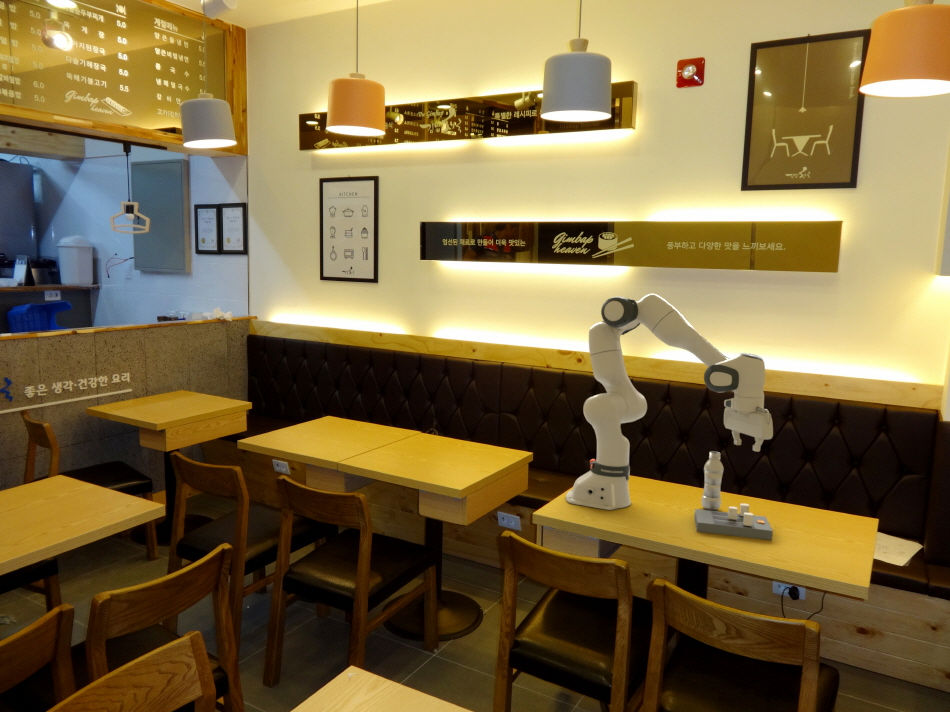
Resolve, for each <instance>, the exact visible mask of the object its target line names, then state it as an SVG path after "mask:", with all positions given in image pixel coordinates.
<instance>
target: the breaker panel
mask: <svg viewBox="0 0 950 712" xmlns="http://www.w3.org/2000/svg"><path fill="white" fill-rule="evenodd" d="M743 519H744V516H740V513H737V520H734V519H729V518H728V512H725V511H719V510H708V509H700V508H695V510H694V524H695V528H696V532H699V533H707V534H716V535H717V534H718V535H722V536H724V535H726V536H730V537H731V536H734V537H741V538H748V539H749V538H751V539H758V540H760V539H761V540H767V541H772V540H773V529H772V527H771V524H770V522H769V520H768V518H767V516H764V515H762V516H761V515H754V514H753V522H752V526H746V525H744V524H743Z"/></svg>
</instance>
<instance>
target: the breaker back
mask: <svg viewBox="0 0 950 712" xmlns="http://www.w3.org/2000/svg"><path fill="white" fill-rule="evenodd" d="M739 505H740V506H739V514H740V516H744V512H746V513H750V512H749V510H750V504H749V503H741V502H740V504H739Z"/></svg>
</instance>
